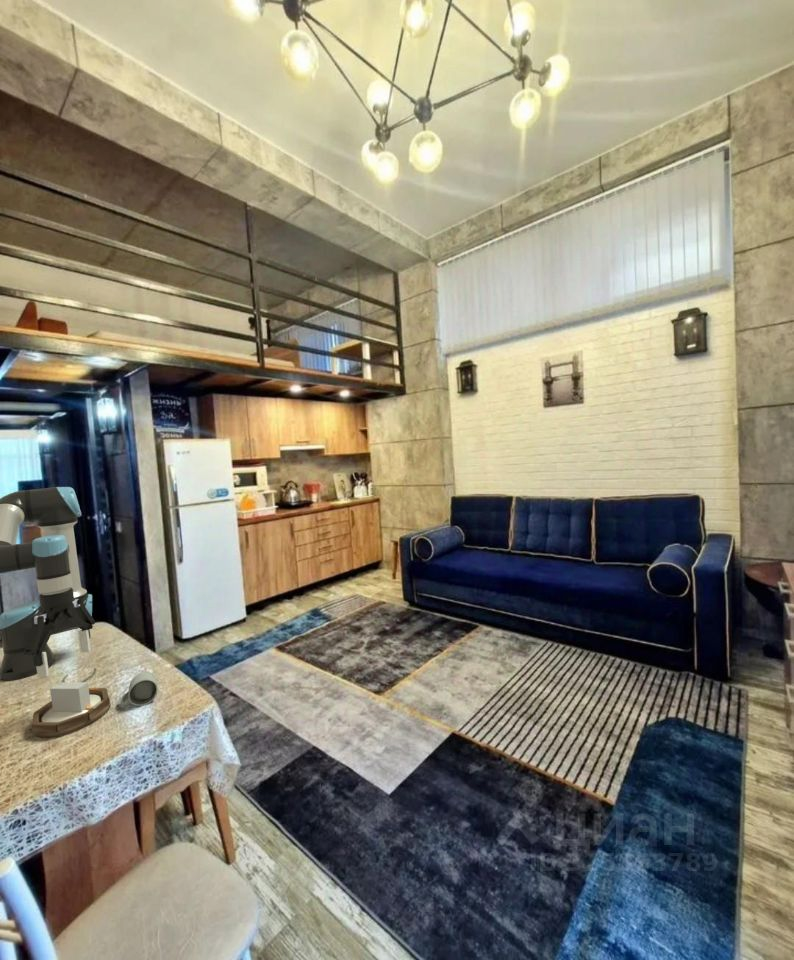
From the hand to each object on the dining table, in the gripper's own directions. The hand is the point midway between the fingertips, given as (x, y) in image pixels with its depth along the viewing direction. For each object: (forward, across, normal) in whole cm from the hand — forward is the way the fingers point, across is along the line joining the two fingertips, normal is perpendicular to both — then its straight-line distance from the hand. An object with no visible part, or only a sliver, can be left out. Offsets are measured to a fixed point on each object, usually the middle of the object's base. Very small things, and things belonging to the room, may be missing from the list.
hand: (65, 663), depth 121 cm
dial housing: (+16, 0, 0) cm, 16 cm away
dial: (+15, 0, 0) cm, 15 cm away
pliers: (+17, -17, -14) cm, 28 cm away
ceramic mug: (+17, -8, +14) cm, 24 cm away
